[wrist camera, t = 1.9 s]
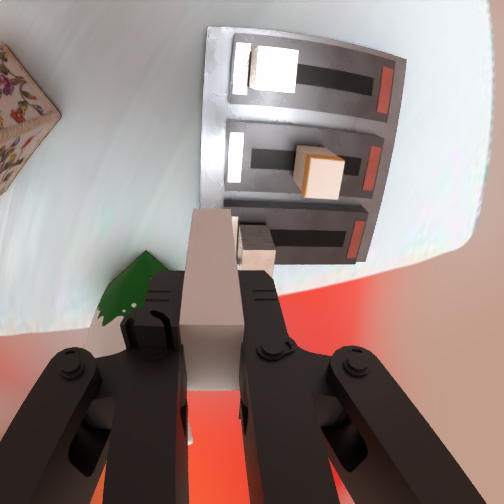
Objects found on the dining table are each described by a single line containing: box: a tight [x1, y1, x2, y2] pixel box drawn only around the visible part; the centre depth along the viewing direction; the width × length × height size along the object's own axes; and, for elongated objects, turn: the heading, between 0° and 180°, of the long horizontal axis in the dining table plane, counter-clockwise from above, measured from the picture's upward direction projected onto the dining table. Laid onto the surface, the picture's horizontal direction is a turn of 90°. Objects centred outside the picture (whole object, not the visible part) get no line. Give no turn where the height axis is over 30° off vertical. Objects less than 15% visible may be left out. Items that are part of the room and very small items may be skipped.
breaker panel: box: [200, 26, 407, 278], centre depth 24 cm, size 21×17×8 cm
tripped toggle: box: [293, 145, 345, 200], centre depth 22 cm, size 3×2×4 cm
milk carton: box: [83, 251, 193, 445], centre depth 25 cm, size 9×9×20 cm
